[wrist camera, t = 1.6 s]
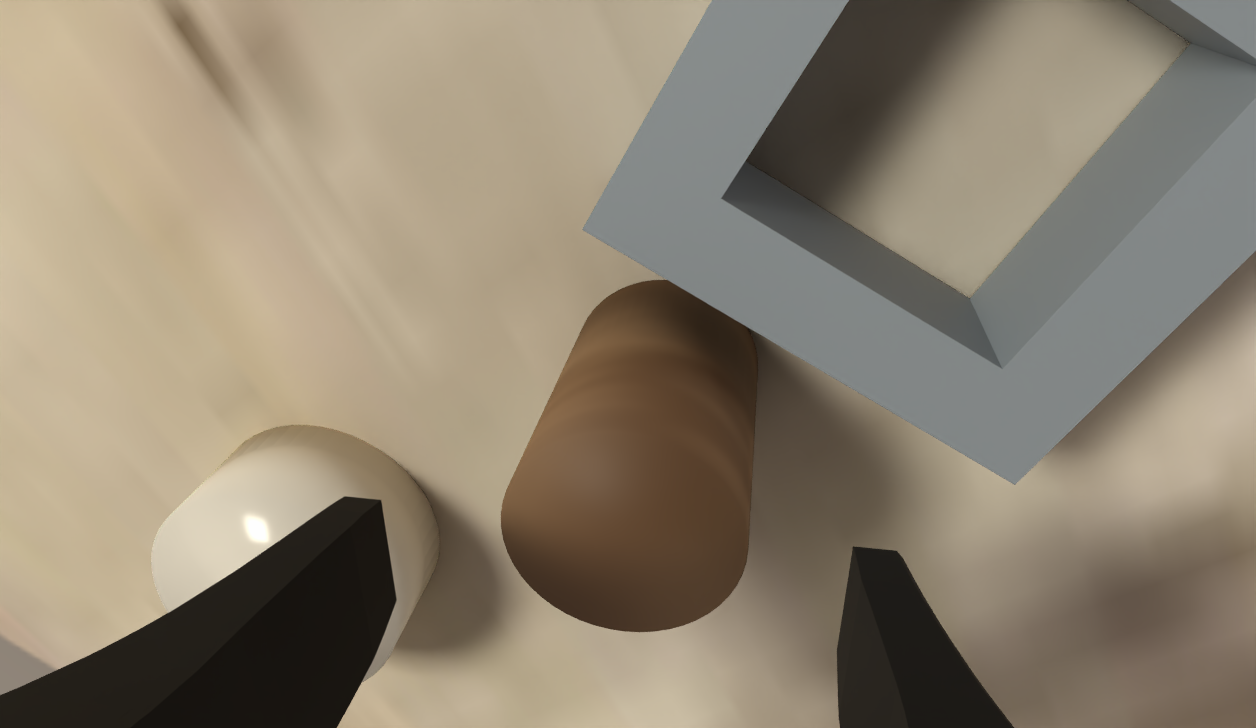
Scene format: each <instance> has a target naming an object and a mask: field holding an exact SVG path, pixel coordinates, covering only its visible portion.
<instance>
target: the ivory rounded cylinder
mask: <svg viewBox="0 0 1256 728" xmlns="http://www.w3.org/2000/svg"><path fill="white" fill-rule="evenodd" d="M344 496H347V497H357V498H367V499H377V500H381V502H382V508H383V514H384V521H385V527H386V534H387V540H388V547H389V553H390V559H391V566H392V572H393V579H394V585H395V591H396V598H397V601H396V604H395V607H394V609H393V612H392V615H391V617H390V620H389V623H388V625H387V628H386V631H385V633H384V636H383V638H382V641H381V643H380V646H379V648H378V651H377V653H376V655H375V658H374V660H373V662H372V664H371V666H370V668H369V669H368V671H367V673H366V675H365V677H364V679H363V681H362V682H364V681H365V680H367V679H368V678H370V677H371V676H373V675H374V674H375V673H376V672H377V671H378V670H379V669H380V668H381V667H382V666H383V665H384V664H385V662H386V661H387V659H388V658H389V657H390V655H391V653H392V651H393V649H394V647H395V645H396V643H397V641H398V639H399V637H400V635H401V633H402V632H403V630H404V628H405V626H406V624H407V622H408V620H409V618H410V616H411V614H412V612H413V610H414V609H415V607H416V605H417V603H418V601H419V599H420V597H421V595H422V593H423V591H424V589H425V587H426V585H427V584H428V582H429V580H430V578H431V576H432V574H433V572H434V569H435V567H436V565H437V561H438V557H439V548H440V539H439V530H438V526H437V521H436V518H435V515H434V513H433V510H432V508H431V506H430V504H429V502H428V500H427V498H426V496H425V495H424V493H423V492H422V490H421V489H420V488H419V486H418V485H417V483H416V482H415V481H414V480H413V479H412V478H411V476H410V475H409V474H408V473H407V472H406V471H405V470H404V469H403V468H402V467H401V466H400V465H398V464H397V463H396V462H395V461H394V460H393V459H391V458H390V457H389V456H387V455H386V454H385V453H383V452H382V451H380V450H379V449H377V448H375V447H374V446H372V445H370V444H369V443H367V442H365V441H363V440H360V439H358V438H356V437H354V436H352V435H349V434H346V433H343V432H340V431H337V430H333V429H329V428H324V427H319V426H310V425H289V426H281V427H276V428H272V429H269V430H265V431H263V432H261V433H258V434H256V435H254V436H253V437H251V438H249V439H248V440H246V441H245V442H244V443H243V444H242V445H240V446H239V447H238V448H237V449H236V450H235V451H234V452H233V453H232V454H231V455H230V456H229V457H228V458H227V459H226V460H225V461H224V462H223V463H222V464H221V465H220V466H219V467H218V468H217V469H216V470H215V471H214V472H213V473H212V474H211V475H210V476H209V477H208V478H207V479H206V480H205V481H204V482H203V483H202V484H201V485H200V486H199V487H198V488H197V489H196V490H195V491H194V492H193V493H192V494H191V495H190V496H189V497H188V498H187V499H186V500H185V501H184V502H183V503H182V504H181V505H180V506H179V507H178V508H177V509H176V510H175V511H174V512H173V513H172V514H171V515H170V516H169V517H168V518H167V519H166V520H165V521H164V523H163V524H162V526H161V527H160V528H159V530H158V533H157V535H156V537H155V539H154V544H153V548H152V557H151V566H152V575H153V579H154V583H155V586H156V590H157V592H158V594H159V597H160V599H161V602H162V603H163V605H164V607H165V609H166V610H167V612H168V613H169V612H171V611H172V610H174V609H176V608H177V607H179V606H180V605H182V604H184V603H185V602H187V601H188V600H190V599H191V598H193V597H195V596H196V595H198V594H199V593H201V592H203V591H204V590H206V589H207V588H209V587H211V586H212V585H214V584H215V583H217V582H219V581H220V580H222V579H223V578H225V577H226V576H228V575H230V574H231V573H233V572H234V571H236V570H237V569H239V568H240V567H242V566H243V565H245V564H246V563H247V562H249V561H250V560H252V559H253V558H255V557H256V556H258V555H259V554H261V553H262V552H264V551H265V550H266V549H268V548H269V547H271V546H272V545H274V544H275V543H277V542H278V541H280V540H281V539H282V538H284V537H285V536H287V535H288V534H290V533H291V532H292V531H294V530H295V529H297V528H298V527H300V526H301V525H302V524H304V523H305V522H307V521H308V520H310V519H311V518H312V517H314V516H315V515H317V514H318V513H320V512H321V511H323V510H324V509H326V508H327V507H328V506H330V505H332V504H333V503H335V502H336V501H338V500H339V499H341V498H343V497H344Z"/></svg>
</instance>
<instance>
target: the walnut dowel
mask: <svg viewBox="0 0 1256 728" xmlns="http://www.w3.org/2000/svg"><path fill="white" fill-rule="evenodd" d="M757 379H758V357H757V351H756V347H755V344H754V341H753V338H752V336H751V333H750V331H749V329H748V327H746V326H745V325H743V324H741V323H740V322H738V321H736V320H734V319H733V318H731V317H729V316H728V315H726V314H724V313H723V312H721V311H719V310H718V309H716V308H714V307H712V306H711V305H709V304H707V303H706V302H704V301H702V300H701V299H699V298H697V297H695V296H694V295H692V294H690V293H689V292H687V291H685V290H684V289H682V288H680V287H679V286H677V285H675V284H673V283H672V282H670V281H668V280H652V281H645V282H640V283H636V284H633V285H629V286H627V287H625V288H622V289H620V290H618V291H616V292H615V293H613V294H611V295H610V296H608V297H607V298H606V299H605V300H603V301H602V302H601V303H600V304H599V305H598V306H597V307H596V308H595V309H594V310H593V311H592V313H591V314H590V316H589V317H588V318H587V320H586V322H585V324H584V326H583V328H582V330H581V332H580V334H579V336H578V339H577V341H576V343H575V345H574V347H573V349H572V351H571V353H570V356H569V358H568V360H567V362H566V364H565V366H564V368H563V371H562V373H561V375H560V377H559V379H558V381H557V383H556V385H555V388H554V390H553V392H552V394H551V396H550V398H549V400H548V403H547V405H546V407H545V409H544V411H543V413H542V415H541V417H540V420H539V422H538V424H537V426H536V428H535V430H534V432H533V435H532V437H531V439H530V441H529V443H528V445H527V447H526V449H525V452H524V454H523V456H522V458H521V460H520V462H519V464H518V466H517V469H516V471H515V473H514V475H513V477H512V479H511V481H510V484H509V486H508V488H507V490H506V493H505V496H504V500H503V504H502V511H501V529H502V534H503V540H504V543H505V546H506V549H507V552H508V554H509V556H510V558H511V560H512V562H513V564H514V566H515V567H516V569H517V570H518V572H519V573H520V575H521V576H522V577H523V579H524V580H525V581H526V582H527V583H528V584H529V586H530V587H531V588H532V589H533V590H534V591H536V592H537V593H538V594H539V595H540V596H541V597H542V598H543V599H545V600H546V601H547V602H549V603H550V604H552V605H553V606H554V607H556V608H558V609H559V610H561V611H563V612H564V613H566V614H568V615H570V616H572V617H575V618H577V619H579V620H581V621H584V622H587V623H590V624H592V625H596V626H600V627H604V628H608V629H613V630H620V631H629V632H652V631H660V630H667V629H672V628H675V627H679V626H683V625H685V624H688V623H690V622H693V621H696V620H698V619H699V618H701V617H703V616H705V615H707V614H708V613H710V612H711V611H713V610H714V609H715V608H717V607H718V606H719V605H720V604H721V603H722V602H723V601H724V600H725V599H726V598H727V597H728V596H729V595H730V594H731V592H732V591H733V590H734V588H735V587H736V586H737V584H738V582H739V580H740V578H741V576H742V574H743V571H744V568H745V565H746V561H747V555H748V545H749V527H750V508H751V490H752V471H753V453H754V434H755V416H756V398H757Z"/></svg>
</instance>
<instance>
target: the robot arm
mask: <svg viewBox="0 0 1256 728" xmlns="http://www.w3.org/2000/svg"><path fill="white" fill-rule="evenodd" d="M396 601H397V598H396V591H395V585H394V579H393V572H392V566H391V559H390V553H389V547H388V540H387V534H386V527H385V521H384V514H383V508H382V502H381V500H377V499H367V498H357V497H347V496H344V497H343V498H341V499H339V500H338V501H336V502H335V503H333V504H332V505H330V506H328V507H327V508H326V509H324V510H323V511H321V512H320V513H318V514H317V515H315V516H314V517H312V518H311V519H310V520H308V521H307V522H305V523H304V524H302V525H301V526H300V527H298V528H297V529H295V530H294V531H292V532H291V533H290V534H288V535H287V536H285V537H284V538H282V539H281V540H280V541H278V542H277V543H275V544H274V545H272V546H271V547H269V548H268V549H266V550H265V551H264V552H262V553H261V554H259V555H258V556H256V557H255V558H253V559H252V560H250V561H249V562H247V563H246V564H245V565H243V566H242V567H240V568H239V569H237V570H236V571H234V572H233V573H231V574H230V575H228V576H226V577H225V578H223V579H222V580H220V581H219V582H217V583H215V584H214V585H212V586H211V587H209V588H207V589H206V590H204V591H203V592H201V593H199V594H198V595H196V596H195V597H193V598H191V599H190V600H188V601H187V602H185V603H184V604H182V605H180V606H179V607H177V608H176V609H174V610H172V611H171V612H169V613H167V614H165V615H164V616H162V617H160V618H159V619H157V620H155V621H153V622H151V623H150V624H148V625H146V626H144V627H143V628H141V629H139V630H137V631H135V632H133V633H131V634H130V635H128V636H126V637H124V638H122V639H120V640H118V641H116V642H114V643H113V644H111V645H109V646H107V647H105V648H103V649H101V650H99V651H97V652H95V653H93V654H91V655H89V656H87V657H85V658H82V659H80V660H78V661H76V662H74V663H72V664H69V665H67V666H65V667H63V668H61V669H58V670H56V671H54V672H52V673H50V674H48V675H45V676H43V677H41V678H39V679H37V680H34V681H32V682H30V683H28V684H26V685H24V686H22V687H19V688H17V689H14V690H12V691H10V692H7V693H5V694H2V695H0V728H337V726H338V724H339V723H340V721H341V719H342V717H343V715H344V714H345V712H346V710H347V708H348V706H349V705H350V703H351V701H352V699H353V697H354V695H355V694H356V692H357V690H358V688H359V686H360V684H361V683H362V681H363V679H364V677H365V675H366V673H367V671H368V669H369V668H370V666H371V664H372V662H373V660H374V658H375V655H376V653H377V651H378V648H379V646H380V643H381V641H382V638H383V636H384V633H385V631H386V628H387V625H388V623H389V620H390V617H391V615H392V612H393V609H394V607H395V604H396ZM837 672H838V707H839V722H840V728H1014V727H1013V726H1012V724H1011V723H1010V722H1009V721H1008V719H1007V718H1006V717H1005V715H1004V714H1003V713H1002V711H1001V710H1000V709H999V707H998V706H997V705H996V704H995V702H994V701H993V700H992V698H991V697H990V696H989V694H988V693H987V692H986V690H985V689H984V688H983V686H982V685H981V683H980V682H979V681H978V679H977V678H976V676H975V675H974V674H973V672H972V671H971V669H970V668H969V666H968V665H967V663H966V662H965V660H964V659H963V657H962V656H961V654H960V653H959V651H958V650H957V649H956V647H955V646H954V644H953V643H952V641H951V640H950V638H949V637H948V635H947V633H946V632H945V630H944V629H943V627H942V626H941V624H940V622H939V621H938V619H937V618H936V616H935V614H934V613H933V611H932V609H931V608H930V606H929V604H928V603H927V601H926V599H925V598H924V596H923V594H922V592H921V591H920V589H919V587H918V585H917V584H916V582H915V580H914V578H913V576H912V574H911V573H910V571H909V569H908V567H907V565H906V563H905V561H904V559H903V558H902V557H901V555H900V554H899V553H898V552H897V551H893V550H882V549H872V548H862V547H853V551H852V558H851V564H850V571H849V577H848V583H847V590H846V596H845V603H844V609H843V615H842V622H841V628H840V635H839V641H838V648H837Z"/></svg>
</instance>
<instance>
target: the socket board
mask: <svg viewBox="0 0 1256 728" xmlns="http://www.w3.org/2000/svg"><path fill="white" fill-rule="evenodd" d="M848 1H849V0H712V1H711V3H710V5H709V7H708V8H707V10H706V12H705V14H704V15H703V17H702V19H701V21H700V23H699V24H698V26H697V28H696V30H695V31H694V33H693V35H692V37H691V38H690V40H689V42H688V44H687V45H686V47H685V49H684V51H683V53H682V54H681V56H680V58H679V60H678V61H677V63H676V65H675V67H674V68H673V70H672V72H671V74H670V75H669V77H668V79H667V81H666V83H665V84H664V86H663V88H662V90H661V91H660V93H659V95H658V97H657V98H656V100H655V102H654V104H653V106H652V107H651V109H650V111H649V113H648V114H647V116H646V118H645V120H644V121H643V123H642V125H641V127H640V128H639V130H638V132H637V134H636V136H635V137H634V139H633V141H632V143H631V144H630V146H629V148H628V150H627V151H626V153H625V155H624V157H623V158H622V160H621V162H620V164H619V166H618V167H617V169H616V171H615V173H614V174H613V176H612V178H611V180H610V181H609V183H608V185H607V187H606V189H605V190H604V192H603V194H602V196H601V197H600V199H599V201H598V203H597V204H596V206H595V208H594V210H593V211H592V213H591V215H590V217H589V219H588V220H587V222H586V224H585V226H584V227H583V229H582V230H584V231H585V232H587V233H589V234H590V235H592V236H594V237H595V238H597V239H599V240H601V241H602V242H604V243H606V244H607V245H609V246H611V247H612V248H614V249H616V250H617V251H619V252H621V253H623V254H624V255H626V256H628V257H629V258H631V259H633V260H634V261H636V262H638V263H640V264H641V265H643V266H645V267H646V268H648V269H650V270H651V271H653V272H655V273H656V274H658V275H660V276H662V277H663V278H665V279H667V280H668V281H670V282H672V283H673V284H675V285H677V286H679V287H680V288H682V289H684V290H685V291H687V292H689V293H690V294H692V295H694V296H695V297H697V298H699V299H701V300H702V301H704V302H706V303H707V304H709V305H711V306H712V307H714V308H716V309H718V310H719V311H721V312H723V313H724V314H726V315H728V316H729V317H731V318H733V319H734V320H736V321H738V322H740V323H741V324H743V325H745V326H746V327H748V328H750V329H751V330H753V331H755V332H757V333H758V334H760V335H762V336H763V337H765V338H767V339H768V340H770V341H772V342H773V343H775V344H777V345H779V346H780V347H782V348H784V349H785V350H787V351H789V352H790V353H792V354H794V355H796V356H797V357H799V358H801V359H802V360H804V361H806V362H807V363H809V364H811V365H813V366H814V367H816V368H818V369H819V370H821V371H823V372H824V373H826V374H828V375H829V376H831V377H833V378H835V379H836V380H838V381H840V382H841V383H843V384H845V385H846V386H848V387H850V388H852V389H853V390H855V391H857V392H858V393H860V394H862V395H863V396H865V397H867V398H868V399H870V400H872V401H874V402H875V403H877V404H879V405H880V406H882V407H884V408H885V409H887V410H889V411H891V412H892V413H894V414H896V415H897V416H899V417H901V418H902V419H904V420H906V421H907V422H909V423H911V424H913V425H914V426H916V427H918V428H919V429H921V430H923V431H924V432H926V433H928V434H930V435H931V436H933V437H935V438H936V439H938V440H940V441H941V442H943V443H945V444H946V445H948V446H950V447H952V448H953V449H955V450H957V451H958V452H960V453H962V454H963V455H965V456H967V457H969V458H970V459H972V460H974V461H975V462H977V463H979V464H980V465H982V466H984V467H985V468H987V469H989V470H991V471H992V472H994V473H996V474H997V475H999V476H1001V477H1002V478H1004V479H1006V480H1008V481H1009V482H1011V483H1013V484H1014V485H1015V484H1016V483H1017V482H1018V481H1019V480H1020V479H1021V478H1022V477H1023V476H1024V475H1025V474H1027V473H1028V472H1029V471H1030V470H1031V469H1032V468H1033V467H1034V466H1035V465H1036V464H1037V463H1038V462H1039V461H1040V460H1041V459H1042V458H1043V457H1044V456H1045V455H1046V454H1047V453H1048V452H1049V451H1050V450H1051V449H1052V448H1053V447H1054V446H1055V445H1056V444H1057V443H1058V442H1059V441H1060V440H1062V439H1063V438H1064V437H1065V436H1066V435H1067V434H1068V433H1069V432H1070V431H1071V430H1072V429H1073V428H1074V427H1075V426H1076V425H1077V424H1078V423H1079V422H1080V421H1081V420H1082V419H1083V418H1084V417H1085V416H1086V415H1087V414H1088V413H1089V412H1090V411H1091V410H1092V409H1093V408H1094V407H1095V406H1097V405H1098V404H1099V403H1100V402H1101V401H1102V400H1103V399H1104V398H1105V397H1106V396H1107V395H1108V394H1109V393H1110V392H1111V391H1112V390H1113V389H1114V388H1115V387H1116V386H1117V385H1118V384H1119V383H1120V382H1121V381H1122V380H1123V379H1124V378H1125V377H1126V376H1127V375H1128V374H1129V373H1130V372H1132V371H1133V370H1134V369H1135V368H1136V367H1137V366H1138V365H1139V364H1140V363H1141V362H1142V361H1143V360H1144V359H1145V358H1146V357H1147V356H1148V355H1149V354H1150V353H1151V352H1152V351H1153V350H1154V349H1155V348H1156V347H1157V346H1158V345H1159V344H1160V343H1161V342H1162V341H1163V340H1164V339H1165V338H1167V337H1168V336H1169V335H1170V334H1171V333H1172V332H1173V331H1174V330H1175V329H1176V328H1177V327H1178V326H1179V325H1180V324H1181V323H1182V322H1183V321H1184V320H1185V319H1186V318H1187V317H1188V316H1189V315H1190V314H1191V313H1192V312H1193V311H1194V310H1195V309H1196V308H1197V307H1198V306H1199V305H1201V304H1202V303H1203V302H1204V301H1205V300H1206V299H1207V298H1208V297H1209V296H1210V295H1211V294H1212V293H1213V292H1214V291H1215V290H1216V289H1217V288H1218V287H1219V286H1220V285H1221V284H1222V283H1223V282H1224V281H1225V280H1226V279H1227V278H1228V277H1229V276H1230V275H1231V274H1232V273H1233V272H1234V271H1236V270H1237V269H1238V268H1239V267H1240V266H1241V265H1242V264H1243V263H1244V262H1245V261H1246V260H1247V259H1248V258H1249V257H1250V256H1251V255H1252V254H1253V253H1254V252H1255V251H1256V0H1128V1H1129V2H1131V3H1132V4H1134V5H1135V6H1137V7H1138V8H1140V9H1141V10H1143V11H1144V12H1146V13H1147V14H1149V15H1150V16H1152V17H1153V18H1155V19H1156V20H1158V21H1159V22H1161V23H1162V24H1164V25H1165V26H1166V27H1168V28H1169V29H1171V30H1172V31H1174V32H1175V33H1177V34H1178V35H1180V36H1181V37H1183V38H1184V39H1186V40H1187V41H1189V42H1190V43H1191V44H1190V45H1189V46H1188V47H1187V48H1186V49H1185V50H1184V52H1183V53H1182V54H1181V55H1180V56H1179V57H1178V59H1177V60H1176V61H1175V62H1174V63H1173V64H1172V66H1171V67H1170V68H1169V69H1168V70H1167V71H1166V72H1165V74H1164V75H1163V76H1162V77H1161V78H1160V79H1159V81H1158V82H1157V83H1156V84H1155V85H1154V86H1153V88H1152V89H1151V90H1150V91H1149V92H1148V93H1147V94H1146V96H1145V97H1144V98H1143V99H1142V100H1141V101H1140V103H1139V104H1138V105H1137V106H1136V107H1135V108H1134V109H1133V111H1132V112H1131V113H1130V114H1129V115H1128V116H1127V118H1126V119H1125V120H1124V121H1123V122H1122V123H1121V125H1120V126H1119V127H1118V128H1117V129H1116V130H1115V131H1114V133H1113V134H1112V135H1111V136H1110V137H1109V138H1108V140H1107V141H1106V142H1105V143H1104V144H1103V145H1102V147H1101V148H1100V149H1099V150H1098V151H1097V152H1096V153H1095V155H1094V156H1093V157H1092V158H1091V159H1090V160H1089V162H1088V163H1087V164H1086V165H1085V166H1084V167H1083V169H1082V170H1081V171H1080V172H1079V173H1078V174H1077V175H1076V177H1075V178H1074V179H1073V180H1072V181H1071V182H1070V184H1069V185H1068V186H1067V187H1066V188H1065V189H1064V190H1063V192H1062V193H1061V194H1060V195H1059V196H1058V197H1057V199H1056V200H1055V201H1054V202H1053V203H1052V204H1051V206H1050V207H1049V208H1048V209H1047V210H1046V211H1045V212H1044V214H1043V215H1042V216H1041V217H1040V218H1039V219H1038V221H1037V222H1036V223H1035V224H1034V225H1033V226H1032V228H1031V229H1030V230H1029V231H1028V232H1027V233H1026V234H1025V236H1024V237H1023V238H1022V239H1021V240H1020V241H1019V243H1018V244H1017V245H1016V246H1015V247H1014V248H1013V249H1012V251H1011V252H1010V253H1009V254H1008V255H1007V256H1006V258H1005V259H1004V260H1003V261H1002V262H1001V263H1000V265H999V266H998V267H997V268H996V269H995V270H994V271H993V273H992V274H991V275H990V276H989V277H988V278H987V280H986V281H985V282H984V283H983V284H982V285H981V287H980V288H979V289H978V290H977V291H976V292H975V293H974V295H973V296H972V297H971V298H970V299H969V298H968V297H966V296H964V295H963V294H961V293H959V292H958V291H956V290H955V289H953V288H951V287H950V286H948V285H946V284H945V283H943V282H942V281H940V280H938V279H937V278H935V277H933V276H932V275H930V274H928V273H927V272H925V271H924V270H922V269H920V268H919V267H917V266H915V265H914V264H912V263H911V262H909V261H907V260H906V259H904V258H902V257H901V256H899V255H898V254H896V253H894V252H893V251H891V250H889V249H888V248H886V247H884V246H883V245H881V244H880V243H878V242H876V241H875V240H873V239H871V238H870V237H868V236H867V235H865V234H863V233H862V232H860V231H858V230H857V229H855V228H854V227H852V226H850V225H849V224H847V223H845V222H844V221H842V220H840V219H839V218H837V217H836V216H834V215H832V214H831V213H829V212H827V211H826V210H824V209H823V208H821V207H819V206H818V205H816V204H814V203H813V202H811V201H810V200H808V199H806V198H805V197H803V196H801V195H800V194H798V193H796V192H795V191H793V190H792V189H790V188H788V187H787V186H785V185H783V184H782V183H780V182H779V181H777V180H775V179H774V178H772V177H770V176H769V175H767V174H766V173H764V172H762V171H761V170H759V169H757V168H756V167H754V166H752V165H751V164H749V163H748V162H746V159H747V158H748V156H749V154H750V153H751V151H752V150H753V148H754V147H755V145H756V144H757V142H758V140H759V139H760V137H761V136H762V134H763V133H764V131H765V130H766V128H767V127H768V125H769V123H770V122H771V120H772V119H773V117H774V116H775V114H776V113H777V111H778V109H779V108H780V106H781V105H782V103H783V102H784V100H785V99H786V97H787V96H788V94H789V92H790V91H791V89H792V88H793V86H794V85H795V83H796V82H797V80H798V78H799V77H800V75H801V74H802V72H803V71H804V69H805V68H806V66H807V65H808V63H809V61H810V60H811V58H812V57H813V55H814V54H815V52H816V51H817V49H818V47H819V46H820V44H821V43H822V41H823V40H824V38H825V37H826V35H827V34H828V32H829V30H830V29H831V27H832V26H833V24H834V23H835V21H836V20H837V18H838V16H839V15H840V13H841V12H842V10H843V9H844V7H845V6H846V4H847V3H848Z"/></svg>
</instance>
